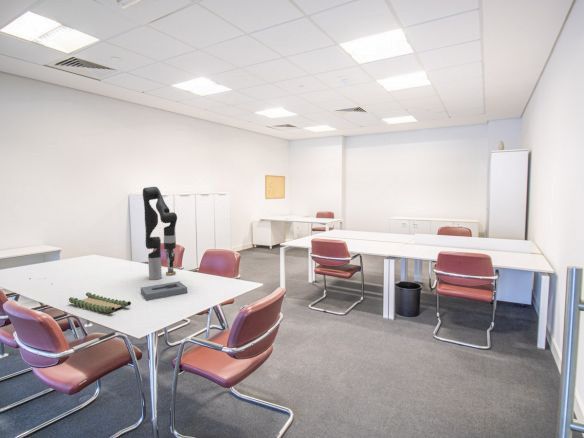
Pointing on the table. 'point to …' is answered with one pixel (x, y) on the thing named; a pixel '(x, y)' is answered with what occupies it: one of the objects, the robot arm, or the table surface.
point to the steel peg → (170, 270)
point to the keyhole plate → (163, 290)
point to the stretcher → (99, 303)
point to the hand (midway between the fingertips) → (170, 266)
